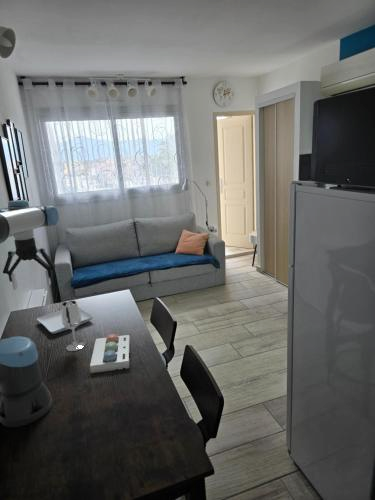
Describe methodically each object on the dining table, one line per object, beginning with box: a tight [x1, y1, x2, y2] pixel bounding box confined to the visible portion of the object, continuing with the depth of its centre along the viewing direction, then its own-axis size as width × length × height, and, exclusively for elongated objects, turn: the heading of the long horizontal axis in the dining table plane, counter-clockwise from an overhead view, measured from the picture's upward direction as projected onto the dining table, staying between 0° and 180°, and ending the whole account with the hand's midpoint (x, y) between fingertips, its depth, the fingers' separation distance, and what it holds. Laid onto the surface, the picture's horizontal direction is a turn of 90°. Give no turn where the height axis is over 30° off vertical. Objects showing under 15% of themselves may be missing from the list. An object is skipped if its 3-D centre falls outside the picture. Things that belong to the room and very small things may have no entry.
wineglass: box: [61, 300, 86, 352], centre depth 136 cm, size 8×8×20 cm
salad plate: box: [36, 306, 94, 334], centre depth 161 cm, size 21×21×3 cm
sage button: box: [105, 342, 117, 352], centre depth 130 cm, size 4×4×3 cm
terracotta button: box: [105, 333, 118, 343], centre depth 136 cm, size 4×4×3 cm
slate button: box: [104, 350, 116, 363], centre depth 123 cm, size 4×4×3 cm
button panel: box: [89, 334, 131, 374], centre depth 130 cm, size 20×14×3 cm
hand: (32, 286), depth 139 cm, fingers open, 13 cm apart
